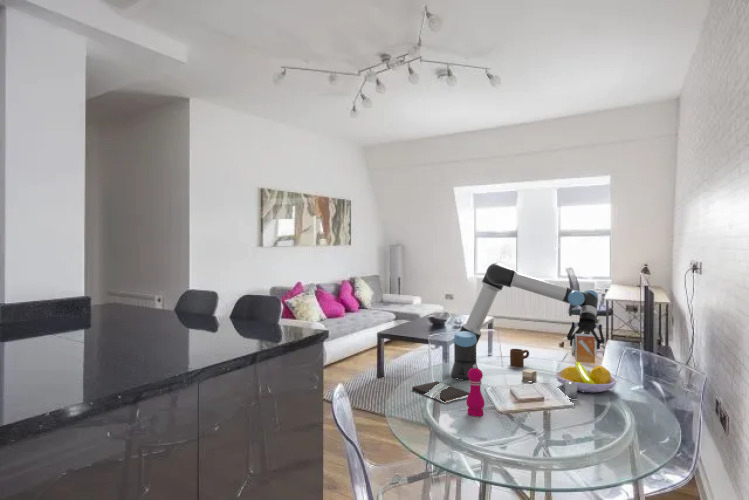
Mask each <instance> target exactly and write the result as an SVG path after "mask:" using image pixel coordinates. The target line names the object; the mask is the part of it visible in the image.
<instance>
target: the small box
mask: <svg viewBox="0 0 749 500" xmlns="http://www.w3.org/2000/svg"><path fill="white" fill-rule="evenodd" d="M595 341H596V340H595V336H593V335H592V334H590V333H589V334H587V333H581V334H575V348H574V360H575V362H576V361H577V362H580V363H586V364H596V356H595V354H594V349H595Z"/></svg>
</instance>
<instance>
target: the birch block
mask: <svg viewBox="0 0 749 500" xmlns="http://www.w3.org/2000/svg"><path fill="white" fill-rule="evenodd" d="M537 372H538V371H536V370H532V369H530V368H528V369H523V370H522V372H521V375H522V376H521V377H522V381H524V380H526V381H525V382H528V381H534V382H537V376H538V375H537Z"/></svg>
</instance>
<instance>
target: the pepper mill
mask: <svg viewBox="0 0 749 500" xmlns="http://www.w3.org/2000/svg"><path fill="white" fill-rule="evenodd" d="M477 366H478V364H477V365H476V364H474V365H473V368H471V369H470V370H469V371H468V377H469V379H470V380H469V382H468V384H469V385H470V387H469V395H468V397H467V398H466V403H465V404H466V405H467V407H468V408H467V415H469V414H470V415H469V416H471V415H472V417H476V416H478V417H482V416H484V409H483V408H484V407H485V399H484V396H483V394H482V392H481V385H482V384H483V383H482V379H483V372H482V370H481V369H480V368H479V367H478V368H477Z"/></svg>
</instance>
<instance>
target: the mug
mask: <svg viewBox="0 0 749 500" xmlns="http://www.w3.org/2000/svg"><path fill="white" fill-rule="evenodd" d="M509 351H510V352H509V364H510V366H511V367H513V366H514V368H523V367H524V363H525V361H524V360H526V359H528V358H529V356H530V351H529V350H527V349H521V348H520V349H519V348H511V349H510V350H509ZM524 354H525V355H524Z"/></svg>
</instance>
